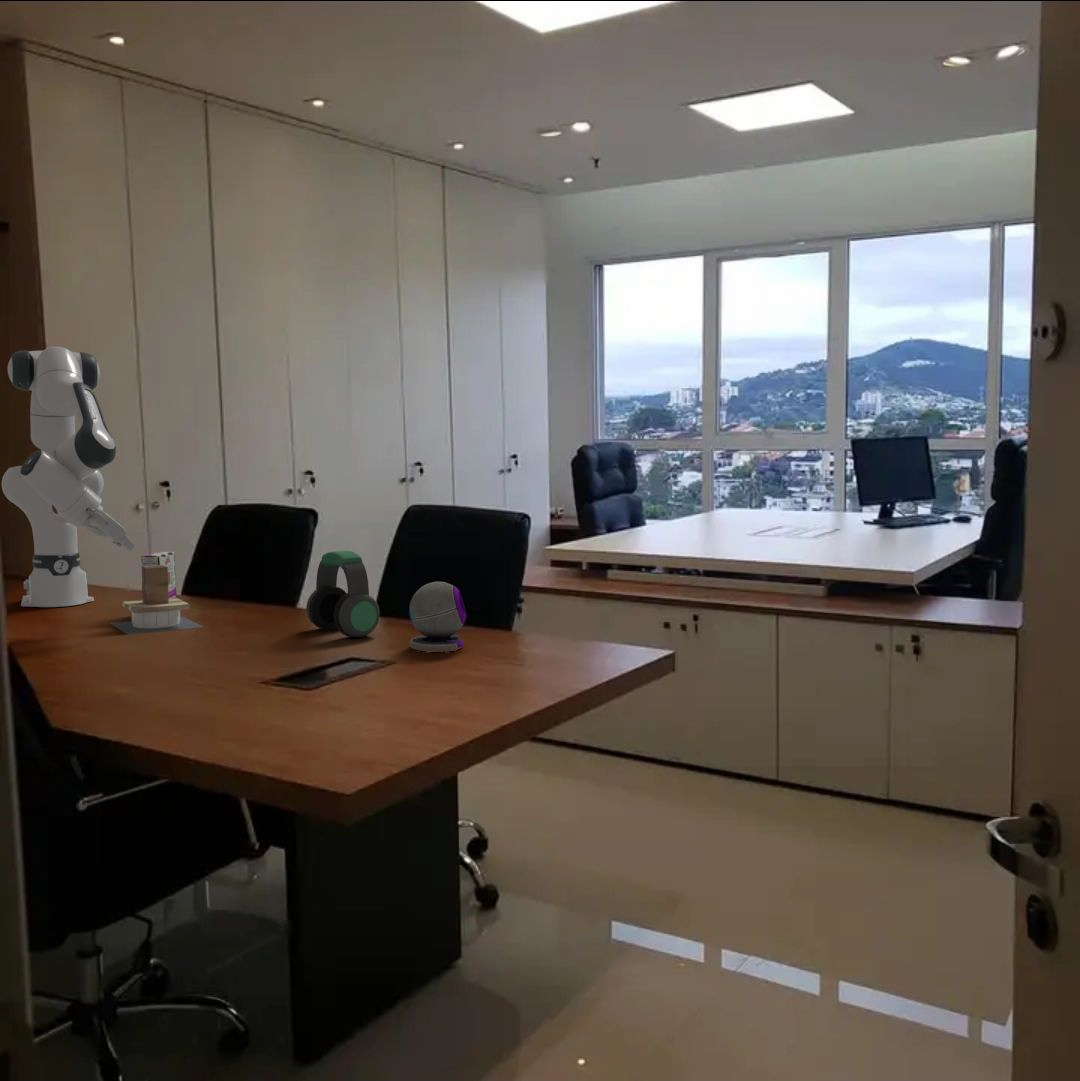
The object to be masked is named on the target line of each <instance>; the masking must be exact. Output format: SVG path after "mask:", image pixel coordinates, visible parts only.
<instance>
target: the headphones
mask: <svg viewBox="0 0 1080 1081" xmlns="http://www.w3.org/2000/svg"><path fill="white" fill-rule="evenodd" d="M340 568H341V569H342V570H343V573H344V576H345V580H346V585H347V586H346V587H347V592H346V591H345V590H344V589H343V588H341V587H338V585H337V583H338V582H337V580H338V573H339V570H340ZM315 583H316V584H315V585H316V586H315V587H316V588H315V590H314V591H312V593H311V594H310V595H309V597H308V599H307V602H306V609H305V610H306V614H307V618H308V619H309V621H310V622H311V623H312V624H313V625H314V626H315V627H317V628H319V629H321V630H323V631H327V632H329V631H328V630H331V631H335V630H338V631H339V633H341V634H342V635H343V636H346V637H349V638H363V637H366V636H368V635H370V634H372V632H374V630H375V629H376V627H377V626H378V624H379V621H380V614H381V613H380V606H379V604H378V602H377V600H375V598H374V597H372V596H371V595H370V589H369V579H368V573H367V571H366V566H365V564H364V562H363V559H362V557H361V556H360V555H359V554H358V553H357V552H354V551H350V550H339V551H329V552H326V553H325V554H323V555H322V556H321V560H320V562H319V565H318V568H317V572H316V582H315Z"/></svg>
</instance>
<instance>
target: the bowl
mask: <svg viewBox="0 0 1080 1081" xmlns="http://www.w3.org/2000/svg"><path fill="white" fill-rule="evenodd" d="M180 617H181V610H171V611H159V612H147V613H133V612H131V621H132V623H133V627H134V628H139V629H161V628H170V627H175V626H178V625H179V624H180Z"/></svg>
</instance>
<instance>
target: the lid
mask: <svg viewBox="0 0 1080 1081" xmlns="http://www.w3.org/2000/svg"><path fill="white" fill-rule="evenodd" d="M141 586H142V587H141V588H142V589H141V591H142V592H141V593H142V595H141V596H142V598H141V599H134V600H122V601H121V606H122V607H123V608H124V609H127V610H128V611H130V612H131V613H132V612H133V613H147V612H159V611H171V610H180V611H181V610H183V611H184V610H190V609H191V608H190V606H191V605H190V603H188V602H186V601H184V600H182V599H180V598H176V597H172V598H168V567H166V566H164V565H154V566H142V565H141Z"/></svg>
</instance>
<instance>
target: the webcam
mask: <svg viewBox="0 0 1080 1081" xmlns="http://www.w3.org/2000/svg"><path fill="white" fill-rule="evenodd" d="M408 611H409V618H410V621H411V624H412V626H413V627H414V628H415V629H416V631H417V632H419V633H420V634H421V635H418V636H415V637H412V638H411V639H410V641H409V648H410V647H411V648H413V649H417V650H422V651H449V650H456V649H457V648H459V647H462V646H463V645H465V644H464V641H463V640H461V637H460V635H457V633H458V632H459V631H460V630H461V629H462V627H463V625H464V624H465V622H466V618H467V613H466V607H465V604H464V600H463V597H462V594H461V591H460V590H459V589H458V588H457V587H456V586H455V585H453V584H450V583H448V582H445V581H433V582H429V583H426V584H424V585H422V586H421V587H420V588H419V589H418V590H417V591H416V592H415V593H414V594H413V596H412V598H411V600H410V602H409V609H408ZM411 648H410V649H411Z"/></svg>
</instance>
